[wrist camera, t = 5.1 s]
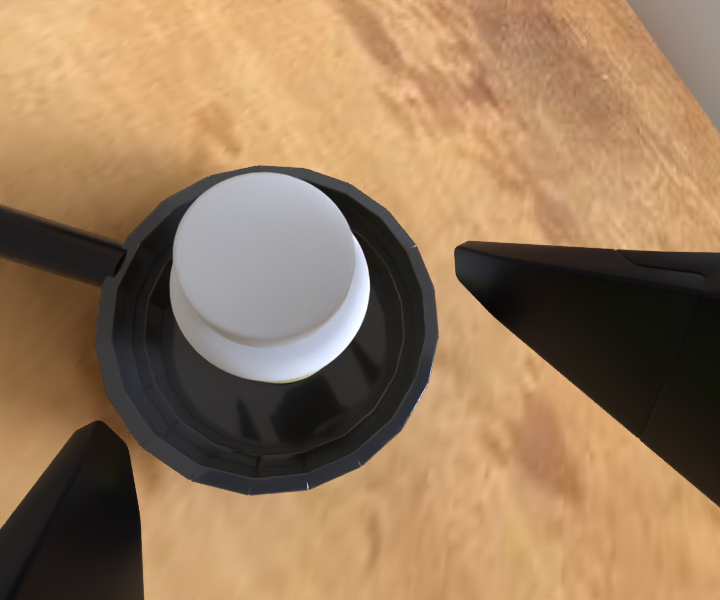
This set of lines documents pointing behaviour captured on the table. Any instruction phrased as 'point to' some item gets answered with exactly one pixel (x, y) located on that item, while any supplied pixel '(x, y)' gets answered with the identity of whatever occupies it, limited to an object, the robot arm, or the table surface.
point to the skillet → (256, 398)
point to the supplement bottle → (267, 278)
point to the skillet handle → (58, 247)
